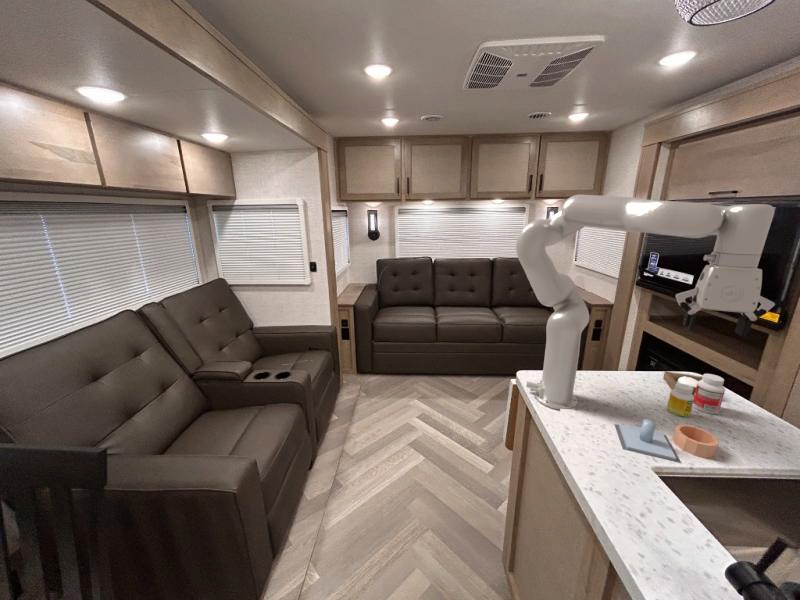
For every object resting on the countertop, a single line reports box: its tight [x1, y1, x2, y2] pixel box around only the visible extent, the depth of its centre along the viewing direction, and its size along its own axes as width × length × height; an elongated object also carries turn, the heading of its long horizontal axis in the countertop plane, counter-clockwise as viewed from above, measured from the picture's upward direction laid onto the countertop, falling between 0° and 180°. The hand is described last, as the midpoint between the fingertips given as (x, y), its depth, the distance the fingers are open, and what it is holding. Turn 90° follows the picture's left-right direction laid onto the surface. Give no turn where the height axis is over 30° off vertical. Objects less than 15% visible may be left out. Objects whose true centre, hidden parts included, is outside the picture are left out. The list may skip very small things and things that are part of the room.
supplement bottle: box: [666, 383, 694, 418], centre depth 94 cm, size 5×5×10 cm
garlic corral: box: [662, 370, 703, 396], centre depth 109 cm, size 11×11×3 cm
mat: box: [614, 423, 682, 464], centre depth 83 cm, size 12×11×1 cm
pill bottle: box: [692, 373, 726, 415], centre depth 97 cm, size 6×6×11 cm
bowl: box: [672, 423, 720, 459], centre depth 81 cm, size 8×8×4 cm
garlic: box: [677, 376, 698, 387], centre depth 110 cm, size 8×7×4 cm
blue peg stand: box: [618, 418, 676, 461], centre depth 82 cm, size 10×10×6 cm
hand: (713, 331), depth 75 cm, fingers open, 9 cm apart
